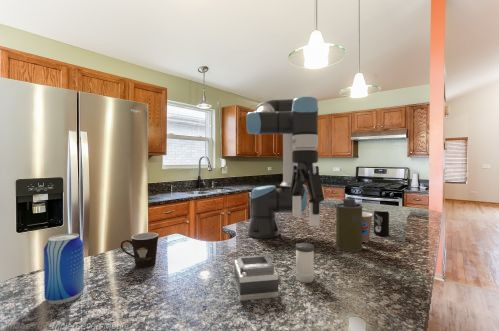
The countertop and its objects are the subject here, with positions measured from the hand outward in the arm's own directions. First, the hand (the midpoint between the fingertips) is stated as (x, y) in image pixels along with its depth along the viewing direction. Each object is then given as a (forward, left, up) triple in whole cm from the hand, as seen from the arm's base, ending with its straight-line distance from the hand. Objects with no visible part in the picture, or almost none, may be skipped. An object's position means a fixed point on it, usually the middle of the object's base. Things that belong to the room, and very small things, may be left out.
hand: (304, 220), depth 80 cm
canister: (-24, +29, -18) cm, 42 cm away
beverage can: (-38, +54, -18) cm, 69 cm away
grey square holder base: (+3, -16, -18) cm, 24 cm away
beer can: (-1, -66, -18) cm, 68 cm away
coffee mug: (-21, -51, -18) cm, 58 cm away
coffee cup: (-32, +39, -18) cm, 54 cm away
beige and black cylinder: (0, 0, -18) cm, 18 cm away
